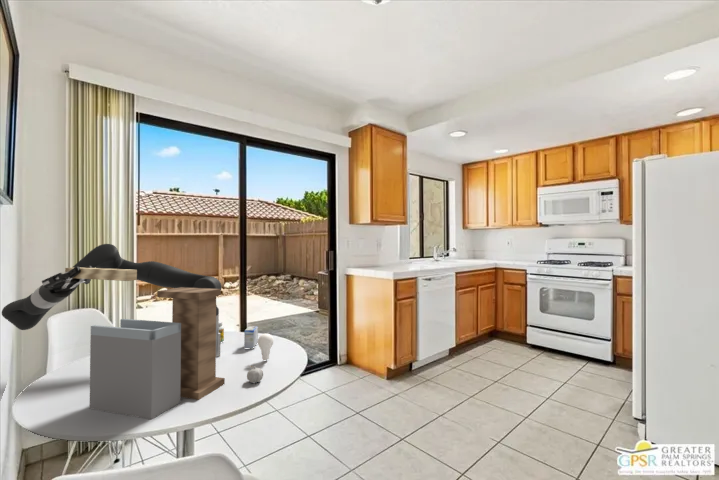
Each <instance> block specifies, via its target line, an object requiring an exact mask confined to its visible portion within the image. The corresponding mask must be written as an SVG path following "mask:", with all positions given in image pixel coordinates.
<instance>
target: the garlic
mask: <svg viewBox="0 0 719 480" xmlns="http://www.w3.org/2000/svg"><path fill="white" fill-rule="evenodd" d="M246 377H247V380H248V382H250V383H252V384H257V383H256V382H259V383H260V382H261V381H262V379H263V377H264V370H262V368H260V367H256V366H255V365H251V366H250V370H248V371H247V374H246Z"/></svg>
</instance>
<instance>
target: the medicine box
mask: <svg viewBox="0 0 719 480" xmlns="http://www.w3.org/2000/svg"><path fill="white" fill-rule="evenodd" d="M243 336H244V337H243V338H244V341H243V342H244V345H243V346H244V347H243V349H244V348H253V347H255V345H256V344H257V343H258V339H259V326H257V325H256V326H255V325H252V326H251V325H250V326H247V328H246V329H245V330H244V334H243ZM257 345H258V344H257ZM257 345H256V346H257ZM255 348H256V347H255Z"/></svg>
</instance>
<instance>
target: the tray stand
mask: <svg viewBox="0 0 719 480" xmlns="http://www.w3.org/2000/svg"><path fill="white" fill-rule="evenodd" d="M119 322H120V323H119V324H120V325H119V326H108V325H96V324H95V325H94V324H93V325H90V349H89V353H90V354H89V356H90V358H89V409H90V410H94V411H101V412H106V413H112V414H118V415H125V416H130V417H135V418H136V417H138V418H141V419H148V420H153V419H154V418H156V417H158V416H160V415H162V414H163V413H165V412H166V411H168V410H170V409H172V408H173V407H175V406H177V405H179V404H181V397H180V384H181V323H174V322H172V321H171V322H170V321H158V320H157V321H156V320H145V319H143V320H142V319H132V318H120V320H119Z"/></svg>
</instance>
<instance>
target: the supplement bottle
mask: <svg viewBox="0 0 719 480" xmlns="http://www.w3.org/2000/svg"><path fill="white" fill-rule="evenodd" d="M219 333H220V344H222V343H221V342H223V341H224V340H225V327H224V326H223V321H219ZM223 343H224V342H223Z"/></svg>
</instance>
